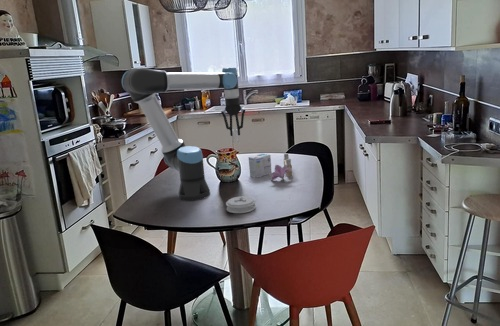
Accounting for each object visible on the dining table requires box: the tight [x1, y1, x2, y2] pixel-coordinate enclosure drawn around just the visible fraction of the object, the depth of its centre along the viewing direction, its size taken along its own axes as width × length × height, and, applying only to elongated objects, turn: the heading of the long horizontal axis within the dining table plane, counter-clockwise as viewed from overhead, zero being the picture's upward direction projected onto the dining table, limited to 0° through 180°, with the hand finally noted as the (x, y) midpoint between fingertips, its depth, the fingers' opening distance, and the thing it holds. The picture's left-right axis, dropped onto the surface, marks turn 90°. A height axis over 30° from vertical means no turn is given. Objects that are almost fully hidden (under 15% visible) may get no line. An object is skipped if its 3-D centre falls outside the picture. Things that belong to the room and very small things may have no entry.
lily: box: [268, 164, 293, 184], centre depth 217 cm, size 12×12×10 cm
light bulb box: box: [247, 153, 273, 178], centre depth 232 cm, size 11×7×11 cm, turn 128°
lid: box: [225, 195, 257, 214], centre depth 182 cm, size 13×13×5 cm
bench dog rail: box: [283, 152, 293, 178], centre depth 232 cm, size 16×3×9 cm, turn 0°
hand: (235, 141), depth 229 cm, fingers closed
